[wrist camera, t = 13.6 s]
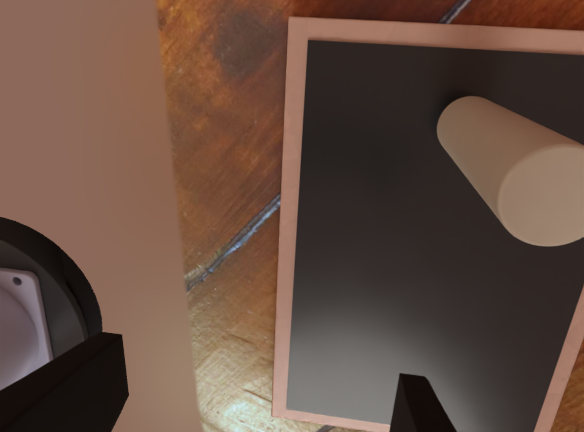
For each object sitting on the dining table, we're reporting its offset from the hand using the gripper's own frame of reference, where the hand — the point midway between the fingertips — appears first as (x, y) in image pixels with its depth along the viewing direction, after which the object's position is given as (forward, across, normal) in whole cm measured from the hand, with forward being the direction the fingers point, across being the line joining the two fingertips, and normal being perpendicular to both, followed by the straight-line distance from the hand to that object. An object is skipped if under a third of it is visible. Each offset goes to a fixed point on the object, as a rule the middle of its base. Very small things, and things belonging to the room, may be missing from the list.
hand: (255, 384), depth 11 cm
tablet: (+10, -6, +1) cm, 12 cm away
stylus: (+9, -6, -6) cm, 12 cm away
